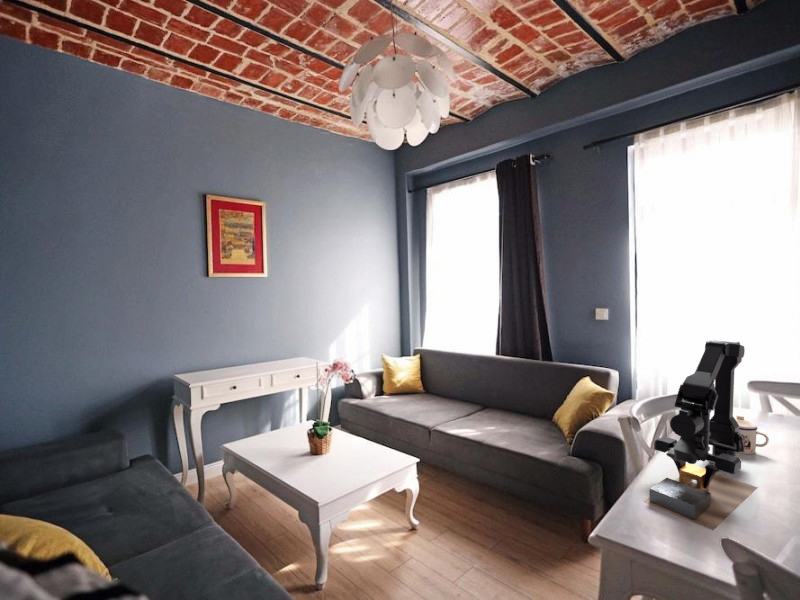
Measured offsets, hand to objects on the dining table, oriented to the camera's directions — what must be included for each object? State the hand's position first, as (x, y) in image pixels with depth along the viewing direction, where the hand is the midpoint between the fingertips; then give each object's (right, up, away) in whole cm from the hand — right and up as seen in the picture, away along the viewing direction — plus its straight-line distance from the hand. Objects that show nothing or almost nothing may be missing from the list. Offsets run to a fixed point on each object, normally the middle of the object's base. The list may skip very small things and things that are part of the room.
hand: (694, 483), depth 112 cm
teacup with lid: (+37, -1, +27) cm, 46 cm away
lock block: (0, -1, 0) cm, 1 cm away
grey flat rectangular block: (-4, -2, -4) cm, 6 cm away
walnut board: (0, -3, -3) cm, 4 cm away
